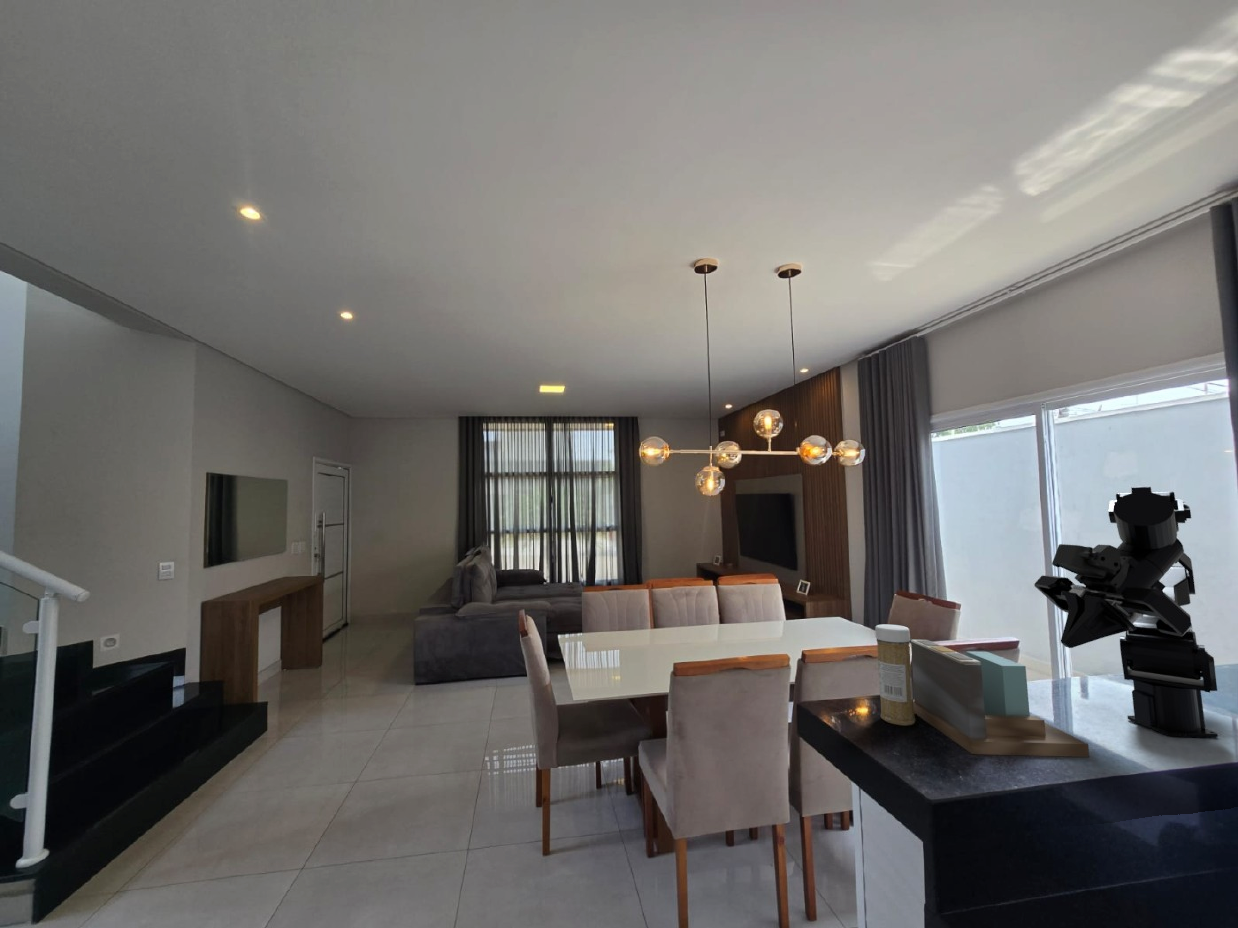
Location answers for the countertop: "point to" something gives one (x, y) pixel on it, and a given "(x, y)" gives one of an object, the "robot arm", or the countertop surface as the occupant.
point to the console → (977, 709)
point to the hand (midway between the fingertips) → (1065, 645)
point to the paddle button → (1002, 685)
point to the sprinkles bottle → (895, 674)
